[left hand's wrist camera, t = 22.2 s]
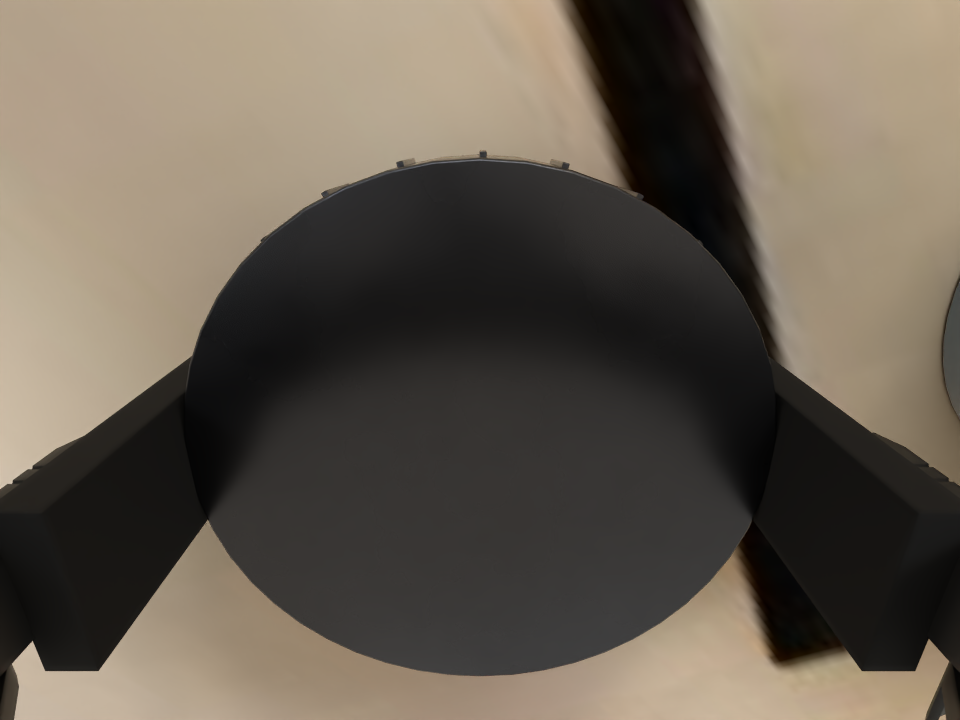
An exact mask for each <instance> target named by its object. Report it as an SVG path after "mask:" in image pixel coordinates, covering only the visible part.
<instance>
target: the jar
mask: <svg viewBox="0 0 960 720" xmlns="http://www.w3.org/2000/svg"><path fill="white" fill-rule="evenodd" d="M943 369H944V377H945V384H946V388H947V391H948V394H949V398H950V401H951V404H952V406H953V408H954V410H955V412H956V414H957V416H958V417H959V419H960V281H959V283H958V285H957V288H956V290H955V294H954V297H953V300H952V303H951V307H950V310H949V313H948V317H947V323H946V328H945V334H944V340H943Z"/></svg>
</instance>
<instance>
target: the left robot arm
mask: <svg viewBox="0 0 960 720" xmlns="http://www.w3.org/2000/svg"><path fill="white" fill-rule="evenodd" d="M768 357H769V356H768ZM191 358H192V356H191V357H190V358H189V359H187V360H186V361H185V362H183V363H182V364H181V365H179V366H178V367H177V368H175V369H174V370H173V371H171V372H170V373H169V374H167V375H166V376H165V377H163V378H162V379H160V380H159V381H158V382H156V383H155V384H154V385H152V386H151V387H150V388H148V389H147V390H146V391H144V392H143V393H142V394H140V395H139V396H138V397H136V398H135V399H134V400H132V401H131V402H129V403H128V404H127V405H125V406H124V407H123V408H121V409H120V410H119V411H117V412H116V413H115V414H113V415H112V416H111V417H109V418H108V419H107V420H105V421H104V422H103V423H101V424H100V425H99V426H97V427H96V428H94V429H93V430H92V431H90V432H89V433H88V434H86V435H85V436H83V437H81V438H79V439H76V440H74V441H72V442H70V443H68V444H66V445H64V446H61V447H59V448H57V449H55V450H54V451H53V452H51V453H50V454H49V455H47V456H46V457H44V458H43V459H42V460H40V461H39V462H37V463H36V464H35V465H33V468H32V469H28V470H26V471H25V472H24V473H22V474H21V475H20V476H18V477H17V478H15V479H14V480H13V483H12V484H7V485H6V486H4V487H3V488H2V489H0V720H14V716H15V709H16V703H17V696H18V689H19V685H18V680H17V675H16V673H15V670H14V668H13V666H12V663H13V662H14V661H15V660H16V658H17V657H18V656H19V655H20V654H21V653H22V652H23V651H24V650H25V648H26V647H27V646H28V645H29V644H30V643H31V642H32V641H33V642H34V645H35V647H36V650H37V652H38V655H39V657H40V659H41V662H42V664H43V667H44V669H45V671H99V670H100V668H101V667H102V665H103V664H104V663H105V661H106V660H107V658H108V657H109V656H110V654H111V653H112V652H113V650H114V649H115V647H116V646H117V645H118V643H119V642H120V640H121V639H122V638H123V636H124V635H125V634H126V632H127V631H128V629H129V628H130V627H131V625H132V624H133V622H134V621H135V620H136V618H137V617H138V615H139V614H140V613H141V611H142V610H143V609H144V607H145V606H146V604H147V603H148V602H149V600H150V599H151V597H152V596H153V595H154V593H155V592H156V591H157V589H158V588H159V586H160V585H161V584H162V582H163V581H164V579H165V578H166V577H167V575H168V574H169V573H170V571H171V570H172V568H173V567H174V566H175V564H176V563H177V561H178V560H179V559H180V557H181V556H182V554H183V553H184V552H185V550H186V549H187V548H188V546H189V545H190V543H191V542H192V541H193V539H194V538H195V536H196V535H197V534H198V532H199V531H200V530H201V528H202V527H203V525H204V524H205V523H206V521H207V520H208V518H207V516H206V514H205V512H204V510H203V508H202V506H201V503H200V501H199V498H198V495H197V492H196V488H195V484H194V480H193V476H192V472H191V468H190V463H189V459H188V454H187V449H186V444H185V438H184V397H185V391H186V384H187V378H188V371H189V365H190V362H191ZM769 360H770V363H771V369H772V375H773V381H774V388H775V394H776V441H775V447H774V452H773V457H772V462H771V466H770V471H769V475H768V479H767V483H766V487H765V490H764V494H763V497H762V500H761V502H760V504H759V507H758V509H757V511H756V513H755V515H754V517H753V521H754V522H755V524H756V525H757V526H758V528H759V529H760V530H761V532H762V533H763V535H764V536H765V537H766V539H767V540H768V542H769V543H770V544H771V546H772V547H773V548H774V550H775V551H776V553H777V554H778V555H779V557H780V558H781V560H782V561H783V562H784V564H785V565H786V566H787V568H788V569H789V571H790V572H791V573H792V575H793V576H794V578H795V579H796V580H797V582H798V583H799V584H800V586H801V587H802V589H803V590H804V591H805V593H806V594H807V596H808V597H809V598H810V600H811V601H812V602H813V604H814V605H815V607H816V608H817V609H818V611H819V612H820V614H821V615H822V616H823V618H824V619H825V621H826V622H827V623H828V625H829V626H830V627H831V629H832V630H833V632H834V633H835V634H836V636H837V637H838V639H839V640H840V641H841V643H842V644H843V645H844V647H845V648H846V650H847V651H848V652H849V654H850V655H851V657H852V658H853V659H854V661H855V662H856V663H857V665H858V666H859V668H860V669H861V670H862V671H915V670H916V668H917V665H918V663H919V661H920V658H921V656H922V653H923V651H924V649H925V646H926V644H927V641H928V639H930V640H931V641H932V643H933V644H934V645H935V646H936V647H937V648H938V649H939V650H940V651H941V653H942V654H943V655H944V656H945V657H946V658H947V659H948V660H949V664H948V666H947V668H946V670H945V673H944V675H943V677H942V679H941V682H940V684H939V686H938V688H937V691H936V693H935V695H934V698H933V700H932V702H931V704H930V707H929V709H928V711H927V714H926V719H925V720H938V719H939V717H940V716H942V715H945V714H946V720H960V486H959V485H957V484H956V483H954V482H949V480H948V479H949V478H947V477H946V476H945V475H943V474H942V473H941V472H939V471H938V470H936V469H935V468H934V467H929V466H928V465H929V464H928V463H927V462H925V461H924V460H922V459H921V458H920V457H918V456H917V455H915V454H914V453H913V452H911V451H910V450H908V449H907V448H906V447H904V446H902V445H900V444H897V443H895V442H893V441H891V440H889V439H887V438H884V437H882V436H880V435H878V434H876V433H871V432H870V431H869V430H867V429H866V428H865V427H863V426H862V425H861V424H859V423H858V422H856V421H855V420H854V419H852V418H851V417H850V416H848V415H847V414H846V413H844V412H843V411H842V410H840V409H839V408H838V407H836V406H835V405H834V404H832V403H831V402H830V401H828V400H827V399H826V398H824V397H823V396H821V395H820V394H819V393H817V392H816V391H815V390H813V389H812V388H811V387H809V386H808V385H807V384H805V383H804V382H803V381H801V380H800V379H799V378H797V377H796V376H795V375H793V374H792V373H790V372H789V371H788V370H786V369H785V368H784V367H782V366H781V365H780V364H778V363H777V362H776V361H774V360H773V359H772V358H770V357H769Z"/></svg>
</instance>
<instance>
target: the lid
mask: <svg viewBox="0 0 960 720" xmlns="http://www.w3.org/2000/svg"><path fill="white" fill-rule="evenodd" d="M568 168H569V164H568V163H565V162H561V161H556V160H552V159H551V161H550V164H548V163H543V162H538V161H533V160H529V159H524V158H519V157H508V156H493V155H487V152H486V150H480V155H467V156H453V157H441V158H436V159H432V160H427V161H422V162H418V163H415V159H414V158H412V159H408V160H403V161H399V162H397V168H394V169H391V170H387V171H384V172H382V173H379V174H376V175H374V176H371V177H368V178H365V179H363V180H360V181H357V182H355V183H352V184H346V185H342V186H339V187H336V188H333V189H329V190H326V191H324V192H323V193H321V194H322V196H323V198H322V199H320V200H318V201H316V202H314V203H312V204H311V205H309V206H307V207H305V208H303V209H302V210H301V211H299V212H298V213H297V214H295V215H294V216H293V217H291V218H290V219H289V220H288V221H286V222H285V223H284V224H282V225H281V226H280V227H278V228H277V229H276V230H274V231H273V232H272V233H270V234H269V235H267V236H265V237H264V238H263V239H262V240H261V243H260V244H259V245H258V246H257V247H256V248H255V249H254V250H253V251H252V252H251V254H250V255H249V256H248V257H247V258H246V259H245V260H244V261H243V262H242V263H241V264H240V265H239V267H238V268H237V269H236V271H235V272H234V274H233V275H232V276H231V278H230V279H229V281H228V282H227V283H226V285H225V286H224V288H223V289H222V290H221V292H220V293H219V295H218V296H217V298H216V300H215V302H214V304H213V306H212V308H211V310H210V312H209V314H208V316H207V318H206V320H205V322H204V324H203V326H202V328H201V330H200V333H199V336H198V339H197V343H196V346H195V349H194V352H193V355H192V358H191V362H190V365H189V371H188V378H187V384H186V391H185V397H184V438H185V444H186V449H187V454H188V459H189V463H190V468H191V472H192V476H193V480H194V484H195V488H196V492H197V495H198V498H199V501H200V503H201V506H202V508H203V510H204V512H205V514H206V516H207V518H208V520H209V523H210V525H211V527H212V529H213V531H214V532H215V534H216V535H217V537H218V539H219V540H220V542H221V543H222V545H223V546H224V548H225V549H226V551H227V553H228V554H229V556H230V557H231V558H232V560H233V561H234V562H235V563H236V564H237V566H238V567H239V568H240V569H241V570H242V572H243V573H244V574H245V575H246V576H247V578H248V579H249V580H250V581H251V582H252V583H253V584H254V585H255V586H256V587H257V588H258V589H259V590H260V591H261V592H262V593H263V594H265V595H266V596H267V597H268V598H269V599H270V600H271V601H272V602H273V603H274V604H275V605H277V606H278V607H279V608H281V609H282V610H283V611H285V612H286V613H287V614H289V615H290V616H291V617H293V618H294V619H295V620H297V621H298V622H299V623H301V624H303V625H304V626H306V627H308V628H309V629H311V630H313V631H314V632H316V633H318V634H319V635H321V636H323V637H325V638H326V639H328V640H330V641H332V642H335V643H337V644H339V645H341V646H343V647H345V648H348V649H350V650H352V651H354V652H356V653H359V654H362V655H365V656H368V657H371V658H374V659H377V660H379V661H382V662H385V663H389V664H393V665H397V666H402V667H406V668H410V669H414V670H419V671H426V672H433V673H440V674H447V675H466V676H495V675H513V674H521V673H528V672H535V671H542V670H547V669H551V668H555V667H559V666H563V665H567V664H572V663H575V662H578V661H581V660H584V659H587V658H590V657H593V656H596V655H599V654H601V653H604V652H607V651H609V650H611V649H613V648H615V647H617V646H620V645H622V644H624V643H626V642H628V641H630V640H633V639H634V638H636V637H638V636H639V635H641V634H643V633H645V632H646V631H648V630H650V629H651V628H653V627H655V626H656V625H658V624H660V623H661V622H663V621H664V620H665V619H667V618H668V617H669V616H671V615H672V614H673V613H675V612H676V611H677V610H679V609H680V608H681V607H683V606H684V605H685V604H687V603H688V602H689V601H690V600H691V599H692V598H693V597H694V596H695V595H696V594H697V593H698V592H699V591H700V590H701V589H702V588H703V587H705V586H706V585H707V584H708V583H709V582H710V581H711V579H712V578H713V577H714V576H715V575H716V573H717V572H718V571H719V570H720V569H721V567H722V566H723V565H724V564H725V563H726V561H727V560H728V559H729V558H730V557H731V555H732V553H733V552H734V550H735V549H736V547H737V546H738V544H739V543H740V541H741V539H742V538H743V536H744V535H745V533H746V532H747V530H748V528H749V526H750V524H751V522H752V519H753V517H754V515H755V513H756V511H757V509H758V507H759V504H760V502H761V500H762V497H763V494H764V490H765V487H766V483H767V479H768V475H769V471H770V466H771V462H772V457H773V452H774V447H775V441H776V394H775V388H774V381H773V375H772V369H771V363H770V360H769V357H768V354H767V351H766V348H765V345H764V341H763V338H762V335H761V332H760V329H759V327H758V325H757V323H756V321H755V319H754V317H753V315H752V313H751V311H750V309H749V307H748V305H747V303H746V301H745V299H744V297H743V296H742V294H741V293H740V291H739V290H738V288H737V287H736V286H735V284H734V283H733V282H732V280H731V279H730V277H729V276H728V275H727V273H726V272H725V270H724V269H723V268H722V266H721V265H720V264H719V262H718V261H717V260H716V259H715V258H714V257H713V256H712V255H711V254H710V253H709V252H708V251H707V250H706V249H705V248H704V247H703V243H702V242H701V241H700V240H697V239H695V238H694V237H693V236H692V235H691V234H690V233H689V232H687V231H686V230H685V229H683V228H682V227H681V226H679V225H678V224H677V223H675V222H674V221H673V220H671V219H670V218H669V217H667V216H666V215H665V214H663V213H662V212H661V211H659V210H658V209H657V208H655V207H654V206H652V205H650V204H648V203H646V202H644V201H642V199H643V197H644V196H643V195H641V194H639V193H636V192H633V191H630V190H627V189H624V188H621V187H618V186H614V185H611V184H608V183H606V182H603V181H600V180H597V179H595V178H592V177H589V176H587V175H584V174H581V173H578V172H576V171H573V170H569V169H568Z"/></svg>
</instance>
